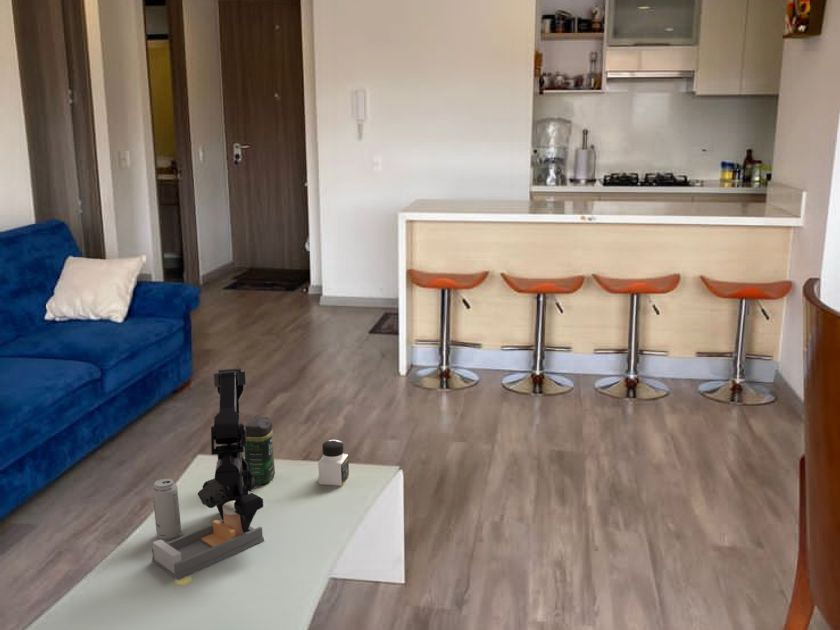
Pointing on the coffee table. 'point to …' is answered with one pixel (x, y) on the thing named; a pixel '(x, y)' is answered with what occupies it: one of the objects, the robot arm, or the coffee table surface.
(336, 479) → the medicine bottle
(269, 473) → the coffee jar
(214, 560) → the lane
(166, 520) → the energy drink can
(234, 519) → the jar
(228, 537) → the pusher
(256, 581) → the coffee table surface
